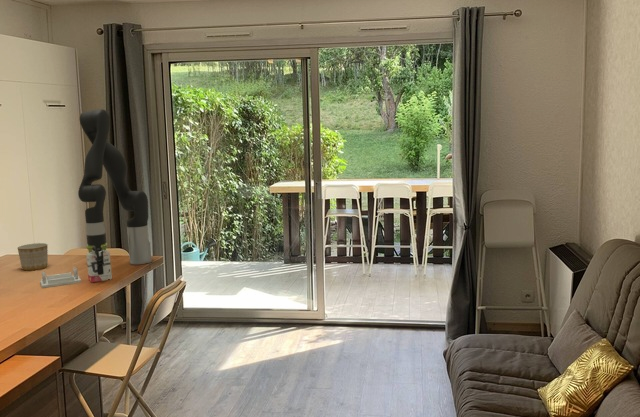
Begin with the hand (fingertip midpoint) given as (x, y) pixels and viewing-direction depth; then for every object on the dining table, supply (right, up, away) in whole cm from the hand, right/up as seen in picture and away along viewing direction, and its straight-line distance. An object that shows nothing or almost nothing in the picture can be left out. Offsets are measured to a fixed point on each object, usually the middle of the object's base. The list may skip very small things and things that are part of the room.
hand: (99, 272), depth 271 cm
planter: (-40, -1, +30) cm, 50 cm away
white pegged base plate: (-16, -4, -1) cm, 16 cm away
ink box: (0, -3, 0) cm, 3 cm away
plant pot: (-12, +1, +34) cm, 36 cm away
